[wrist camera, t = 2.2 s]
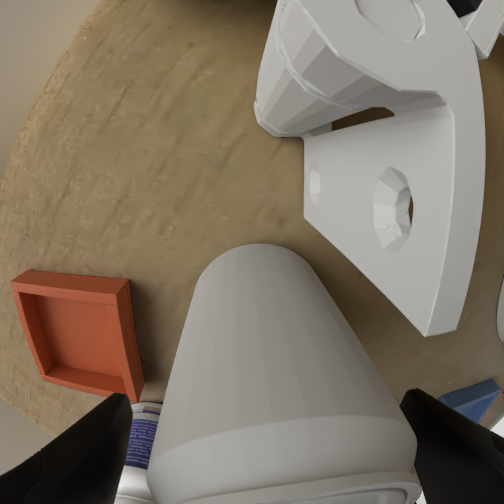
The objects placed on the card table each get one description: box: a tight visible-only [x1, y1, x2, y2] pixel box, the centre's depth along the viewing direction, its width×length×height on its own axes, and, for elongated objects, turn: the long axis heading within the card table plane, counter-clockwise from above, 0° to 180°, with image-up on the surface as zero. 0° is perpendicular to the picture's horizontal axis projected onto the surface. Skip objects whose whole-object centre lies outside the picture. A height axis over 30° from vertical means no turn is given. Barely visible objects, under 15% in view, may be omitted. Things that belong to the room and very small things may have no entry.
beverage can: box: [146, 243, 422, 504], centre depth 9 cm, size 6×6×12 cm
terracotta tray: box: [11, 270, 145, 402], centre depth 14 cm, size 7×7×2 cm
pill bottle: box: [114, 402, 162, 504], centre depth 14 cm, size 5×5×9 cm
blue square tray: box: [439, 379, 501, 423], centre depth 20 cm, size 8×8×2 cm
